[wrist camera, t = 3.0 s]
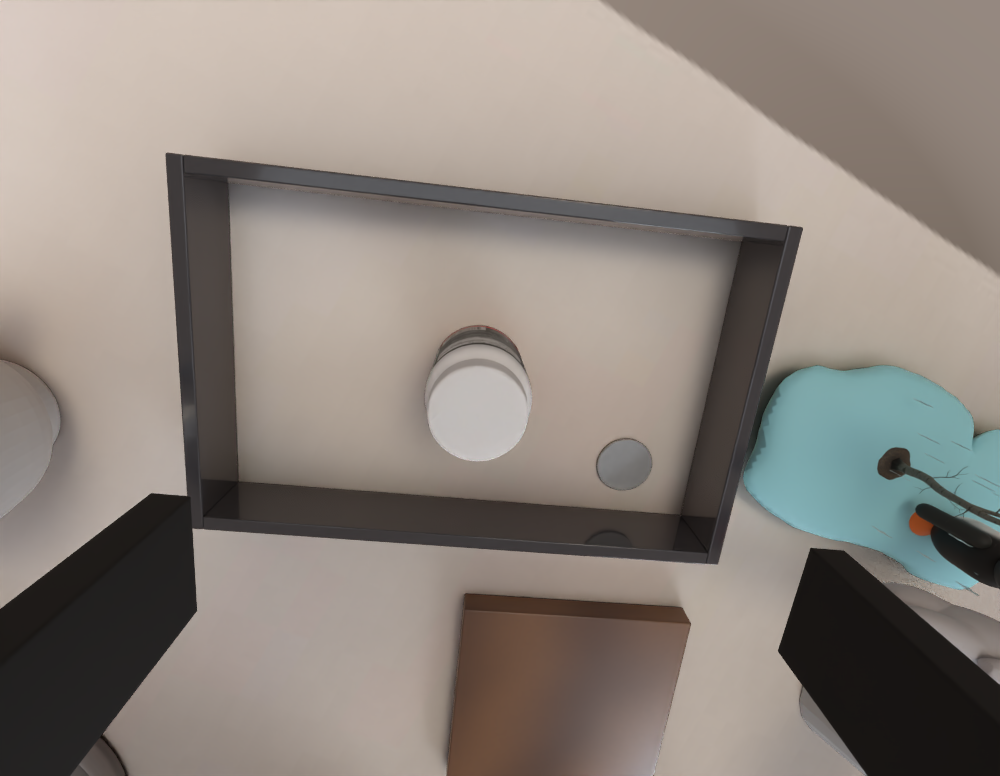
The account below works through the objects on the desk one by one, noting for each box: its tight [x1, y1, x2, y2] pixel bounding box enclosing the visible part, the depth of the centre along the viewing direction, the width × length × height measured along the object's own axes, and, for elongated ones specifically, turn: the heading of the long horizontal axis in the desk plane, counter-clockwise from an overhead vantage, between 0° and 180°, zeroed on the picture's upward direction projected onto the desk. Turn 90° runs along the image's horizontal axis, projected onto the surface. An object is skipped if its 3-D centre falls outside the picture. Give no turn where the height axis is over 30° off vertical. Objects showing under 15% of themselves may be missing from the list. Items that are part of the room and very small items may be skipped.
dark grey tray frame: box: [166, 153, 803, 565], centre depth 26 cm, size 27×17×4 cm, turn 84°
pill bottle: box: [424, 325, 532, 461], centre depth 24 cm, size 5×5×8 cm
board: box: [446, 594, 691, 776], centre depth 34 cm, size 14×14×2 cm
